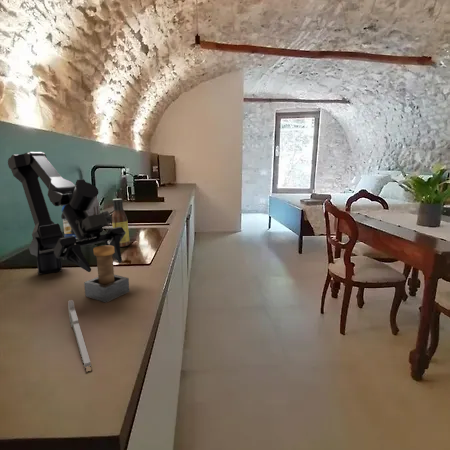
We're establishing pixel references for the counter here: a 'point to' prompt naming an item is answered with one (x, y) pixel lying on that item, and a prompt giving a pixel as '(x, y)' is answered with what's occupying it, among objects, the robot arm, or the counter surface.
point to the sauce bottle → (120, 220)
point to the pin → (105, 263)
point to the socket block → (106, 289)
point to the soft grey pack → (94, 208)
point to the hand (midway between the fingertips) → (106, 266)
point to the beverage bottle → (67, 227)
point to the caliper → (78, 333)
